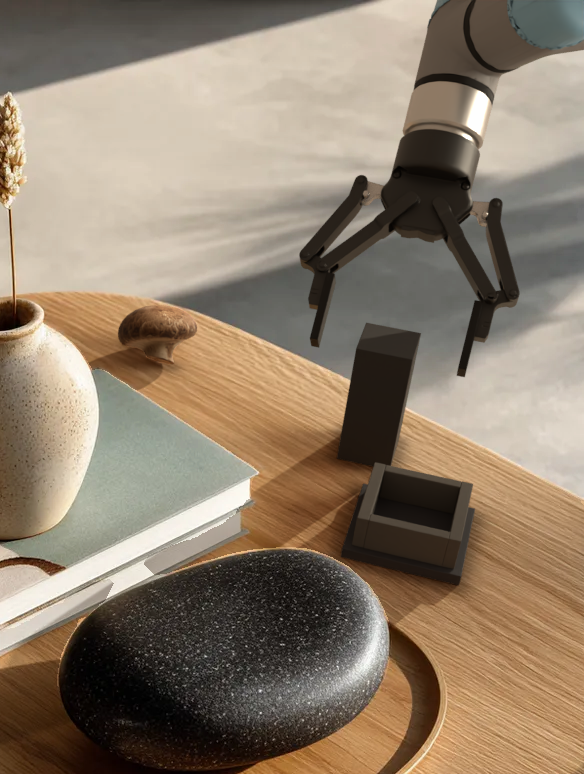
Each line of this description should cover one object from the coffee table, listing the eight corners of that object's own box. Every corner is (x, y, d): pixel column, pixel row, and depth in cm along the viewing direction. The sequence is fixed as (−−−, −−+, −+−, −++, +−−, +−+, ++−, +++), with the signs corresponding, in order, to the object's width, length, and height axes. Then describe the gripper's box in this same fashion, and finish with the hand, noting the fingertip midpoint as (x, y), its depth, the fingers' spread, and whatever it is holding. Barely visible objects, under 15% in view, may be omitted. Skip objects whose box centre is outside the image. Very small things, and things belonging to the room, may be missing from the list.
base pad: (473, 517, 118) (482, 480, 116) (459, 585, 111) (468, 548, 109) (361, 491, 121) (368, 455, 119) (340, 557, 113) (347, 520, 111)
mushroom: (185, 359, 132) (175, 296, 132) (112, 372, 135) (102, 311, 135) (211, 360, 139) (202, 300, 139) (141, 373, 143) (132, 315, 143)
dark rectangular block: (398, 442, 128) (421, 332, 120) (389, 470, 124) (412, 359, 116) (346, 430, 129) (366, 322, 122) (336, 458, 125) (356, 348, 118)
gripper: (572, 181, 126) (521, 395, 124) (312, 138, 132) (259, 341, 130) (583, 148, 118) (529, 375, 116) (308, 105, 125) (251, 319, 123)
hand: (386, 358), depth 123 cm, fingers open, 13 cm apart
